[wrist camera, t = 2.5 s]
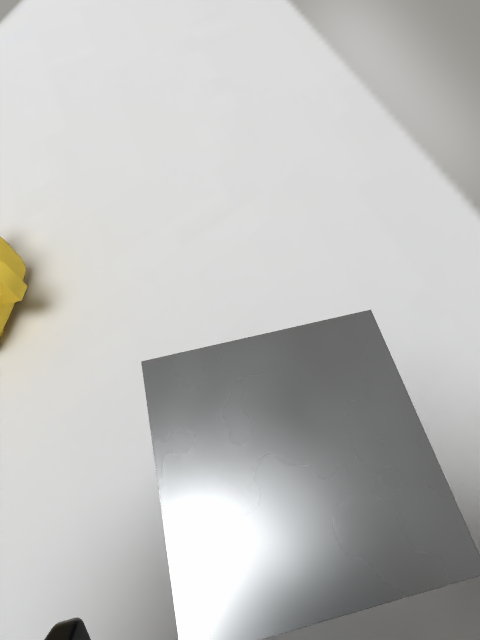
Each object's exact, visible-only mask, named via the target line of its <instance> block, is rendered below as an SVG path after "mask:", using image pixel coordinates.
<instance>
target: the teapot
mask: <svg viewBox="0 0 480 640" xmlns="http://www.w3.org/2000/svg"><path fill="white" fill-rule="evenodd" d="M25 273H26V267H25V264H24V262H23V261H22V259H21V257H20V256H19V255H18V254H17V253H16V252H15V251H14V250H13V249H12V247H11V246H10V245H9V244H8V243H7V242H6V241H5V240H4V239H2V238H1V237H0V338H1V337H2V335H3V333H4V326H5V324H6V322H7V320H8V318H9V316H10V314H11V312H12V309H13V307H14V304H15V302H18V301H22V299H23V296H24V294H25V292H26V289H27V287H28V286H27V285H26V284H25V283H24V282H23V279H24V276H25Z"/></svg>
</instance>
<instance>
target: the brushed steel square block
mask: <svg viewBox="0 0 480 640" xmlns="http://www.w3.org/2000/svg"><path fill="white" fill-rule="evenodd" d="M142 369H143V377H144V384H145V392H146V399H147V407H148V414H149V422H150V429H151V436H152V444H153V451H154V459H155V466H156V474H157V481H158V489H159V496H160V504H161V511H162V518H163V526H164V533H165V541H166V548H167V556H168V563H169V571H170V578H171V585H172V593H173V600H174V608H175V615H176V623H177V630H178V638H179V640H262V639H265V638H269V637H272V636H275V635H279V634H282V633H286V632H289V631H292V630H296V629H299V628H303V627H306V626H310V625H313V624H316V623H320V622H323V621H327V620H330V619H334V618H337V617H340V616H344V615H347V614H351V613H354V612H357V611H361V610H364V609H368V608H371V607H375V606H378V605H381V604H385V603H388V602H392V601H395V600H399V599H402V598H405V597H409V596H412V595H416V594H419V593H423V592H426V591H429V590H433V589H436V588H440V587H443V586H446V585H450V584H453V583H457V582H460V581H464V580H467V579H470V578H474V577H477V576H480V555H479V553H478V551H477V548H476V546H475V544H474V542H473V539H472V537H471V535H470V533H469V530H468V528H467V526H466V524H465V521H464V519H463V517H462V515H461V512H460V510H459V508H458V506H457V503H456V501H455V499H454V497H453V494H452V492H451V490H450V487H449V485H448V483H447V481H446V478H445V476H444V474H443V472H442V469H441V467H440V465H439V463H438V460H437V458H436V456H435V454H434V451H433V449H432V447H431V445H430V442H429V440H428V438H427V436H426V433H425V431H424V429H423V426H422V424H421V422H420V420H419V417H418V415H417V413H416V411H415V408H414V406H413V404H412V402H411V399H410V397H409V395H408V393H407V390H406V388H405V386H404V384H403V381H402V379H401V377H400V375H399V372H398V370H397V368H396V365H395V363H394V361H393V359H392V356H391V354H390V352H389V350H388V347H387V345H386V343H385V341H384V338H383V336H382V334H381V332H380V329H379V327H378V325H377V323H376V320H375V318H374V316H373V314H372V311H371V310H368V311H363V312H359V313H355V314H350V315H346V316H341V317H337V318H332V319H328V320H324V321H319V322H315V323H310V324H306V325H301V326H297V327H293V328H288V329H284V330H279V331H275V332H270V333H266V334H262V335H257V336H253V337H248V338H244V339H239V340H235V341H231V342H226V343H222V344H217V345H213V346H208V347H204V348H200V349H195V350H191V351H186V352H182V353H177V354H173V355H169V356H164V357H160V358H155V359H151V360H146V361H142Z"/></svg>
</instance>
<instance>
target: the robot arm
mask: <svg viewBox="0 0 480 640" xmlns="http://www.w3.org/2000/svg"><path fill="white" fill-rule="evenodd" d="M44 640H91V639H90V637H89V634H88V632H87V630H86V627H85V625H84V623H83V621H82V620H81V619H80V618H73V619H69V620H66V621H62V622H59V623H57V624H56V625H55V626H54V627H53V628H52V629H51V631H50V632H49V634H48V635H47V637H46V638H45V639H44Z"/></svg>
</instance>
